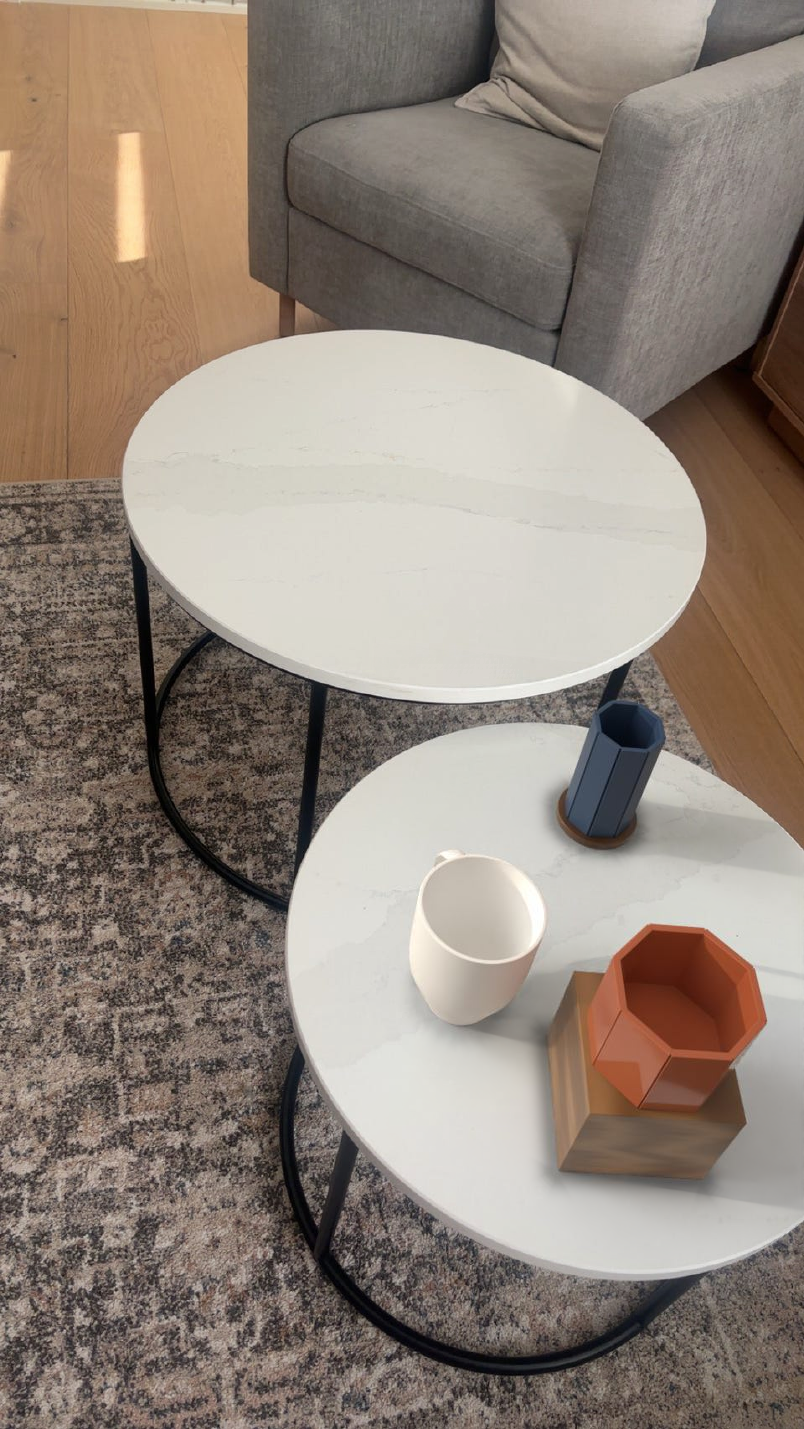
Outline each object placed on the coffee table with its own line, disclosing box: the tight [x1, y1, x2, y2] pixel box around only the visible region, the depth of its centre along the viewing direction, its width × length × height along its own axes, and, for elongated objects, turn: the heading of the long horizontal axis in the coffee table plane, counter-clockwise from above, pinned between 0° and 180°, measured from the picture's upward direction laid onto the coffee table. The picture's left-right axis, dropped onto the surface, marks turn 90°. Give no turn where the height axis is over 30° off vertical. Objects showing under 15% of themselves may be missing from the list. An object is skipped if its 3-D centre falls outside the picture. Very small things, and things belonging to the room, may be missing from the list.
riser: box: [546, 970, 747, 1180], centre depth 74 cm, size 10×10×9 cm
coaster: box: [555, 786, 638, 851], centre depth 95 cm, size 7×7×1 cm
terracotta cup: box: [586, 923, 768, 1112], centre depth 68 cm, size 9×9×7 cm
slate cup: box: [565, 699, 667, 838], centre depth 91 cm, size 6×6×11 cm
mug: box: [408, 849, 548, 1026], centre depth 78 cm, size 12×9×12 cm
